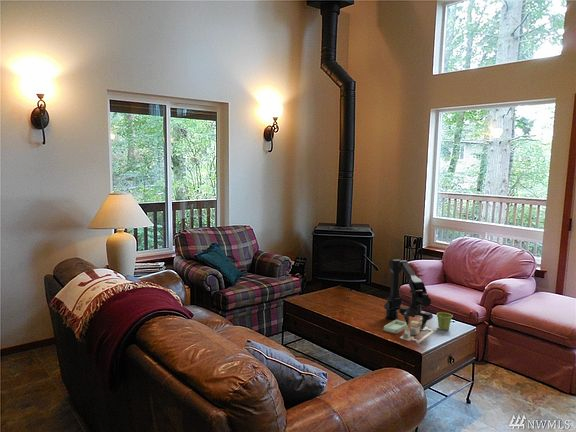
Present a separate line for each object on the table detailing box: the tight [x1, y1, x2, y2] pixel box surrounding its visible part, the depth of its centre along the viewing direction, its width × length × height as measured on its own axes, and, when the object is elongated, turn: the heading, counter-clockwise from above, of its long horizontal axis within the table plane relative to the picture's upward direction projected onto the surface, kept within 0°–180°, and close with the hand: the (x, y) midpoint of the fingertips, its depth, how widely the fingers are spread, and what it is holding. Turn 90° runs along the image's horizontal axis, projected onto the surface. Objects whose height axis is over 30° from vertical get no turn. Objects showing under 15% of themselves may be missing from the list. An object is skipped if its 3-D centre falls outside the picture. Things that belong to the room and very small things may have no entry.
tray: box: [382, 319, 410, 335], centre depth 253 cm, size 9×17×2 cm, turn 139°
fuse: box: [409, 319, 421, 336], centre depth 246 cm, size 4×4×7 cm
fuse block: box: [399, 317, 437, 345], centre depth 244 cm, size 11×27×6 cm, turn 139°
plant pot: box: [436, 311, 453, 331], centre depth 254 cm, size 9×9×9 cm
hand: (414, 327), depth 246 cm, fingers open, 9 cm apart
